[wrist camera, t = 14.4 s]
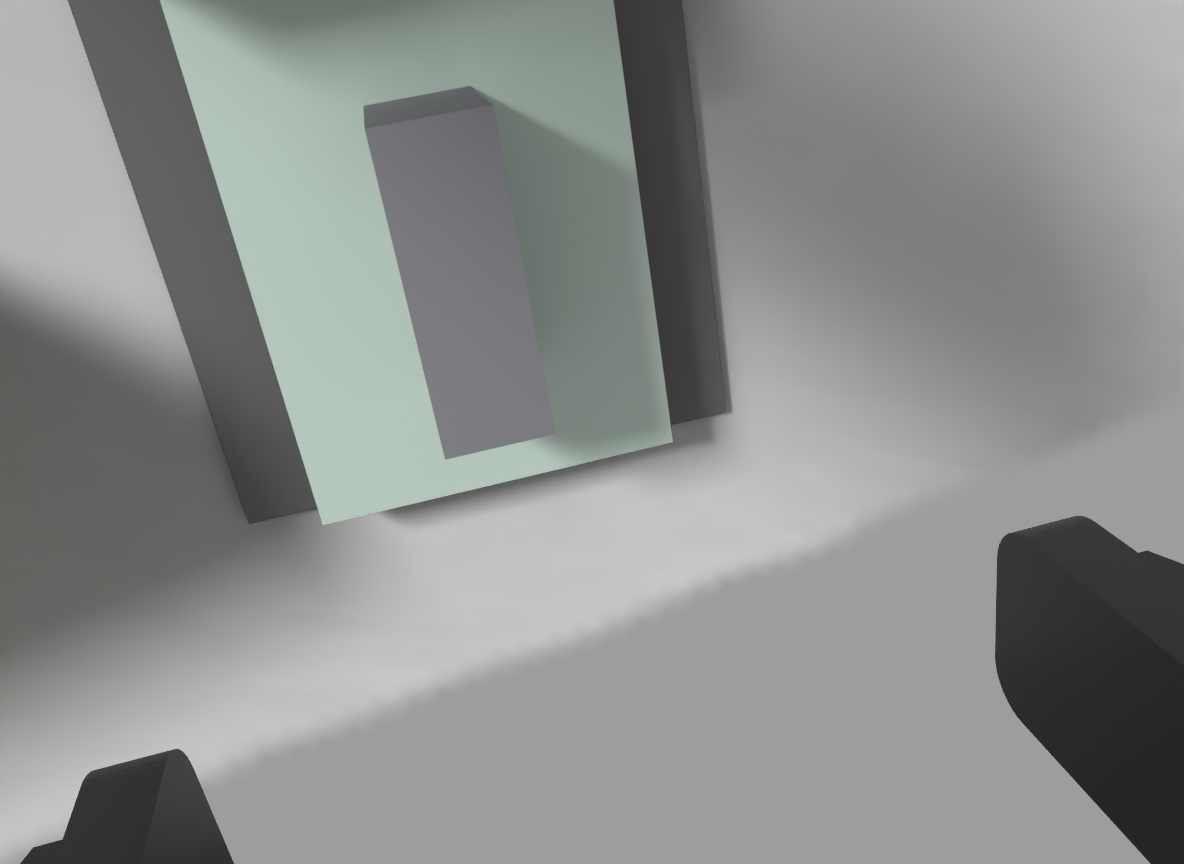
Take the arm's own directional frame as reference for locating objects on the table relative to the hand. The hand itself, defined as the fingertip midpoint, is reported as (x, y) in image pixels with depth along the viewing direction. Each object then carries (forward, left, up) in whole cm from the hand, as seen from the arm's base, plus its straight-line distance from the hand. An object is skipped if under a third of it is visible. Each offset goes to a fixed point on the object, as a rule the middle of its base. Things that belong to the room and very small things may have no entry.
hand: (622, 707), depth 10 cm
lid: (0, 0, -22) cm, 22 cm away
